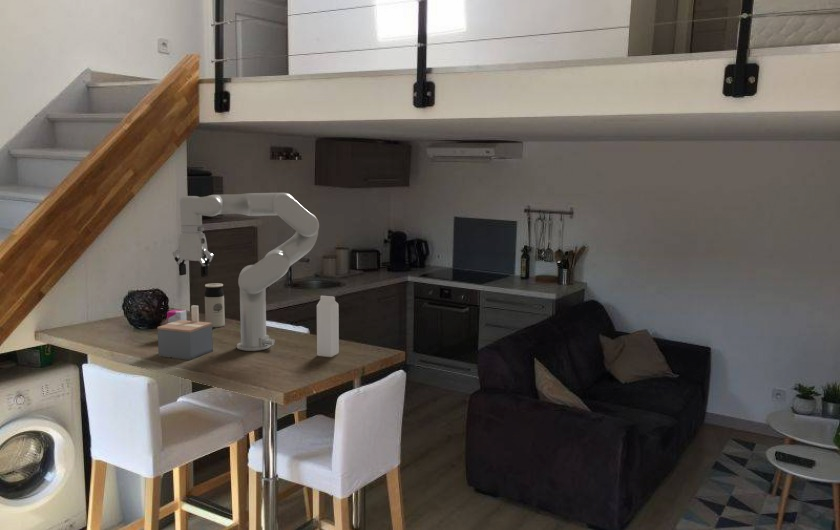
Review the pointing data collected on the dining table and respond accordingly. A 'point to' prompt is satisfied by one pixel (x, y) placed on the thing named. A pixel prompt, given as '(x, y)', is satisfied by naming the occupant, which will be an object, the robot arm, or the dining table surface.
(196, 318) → the lid
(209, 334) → the carton
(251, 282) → the robot arm
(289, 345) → the dining table surface
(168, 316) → the supplement box
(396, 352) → the dining table surface
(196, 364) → the dining table surface
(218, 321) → the travel mug
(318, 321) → the milk
